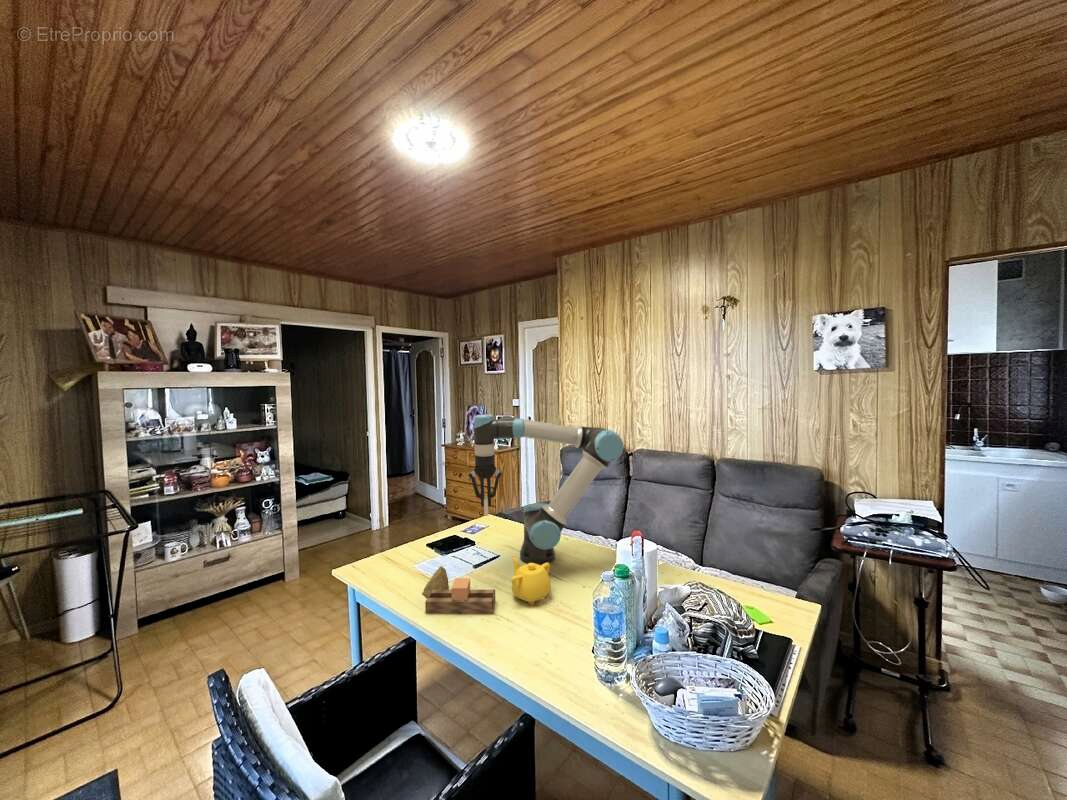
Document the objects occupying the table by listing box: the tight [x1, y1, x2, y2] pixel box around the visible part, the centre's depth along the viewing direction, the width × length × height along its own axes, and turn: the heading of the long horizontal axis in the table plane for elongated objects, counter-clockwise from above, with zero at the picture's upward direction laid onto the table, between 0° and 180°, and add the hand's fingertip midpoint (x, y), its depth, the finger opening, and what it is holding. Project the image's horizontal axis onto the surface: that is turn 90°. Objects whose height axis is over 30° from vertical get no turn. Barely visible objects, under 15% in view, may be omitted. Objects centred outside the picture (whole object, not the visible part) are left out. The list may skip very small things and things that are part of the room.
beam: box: [424, 588, 496, 615], centre depth 140 cm, size 22×9×4 cm, turn 90°
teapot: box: [510, 556, 552, 606], centre depth 147 cm, size 14×14×12 cm
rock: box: [421, 565, 450, 597], centre depth 146 cm, size 11×9×10 cm
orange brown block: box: [451, 577, 471, 600], centre depth 139 cm, size 5×7×7 cm
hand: (486, 514), depth 162 cm, fingers closed
